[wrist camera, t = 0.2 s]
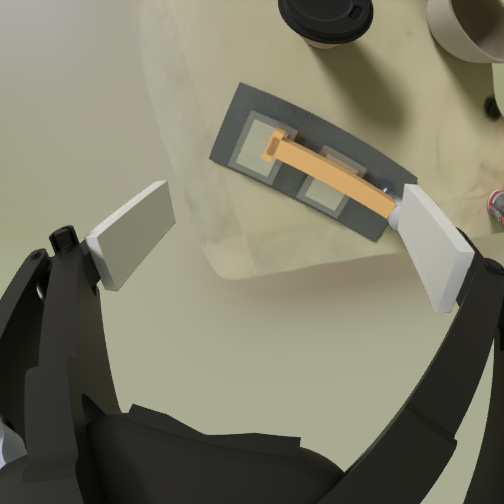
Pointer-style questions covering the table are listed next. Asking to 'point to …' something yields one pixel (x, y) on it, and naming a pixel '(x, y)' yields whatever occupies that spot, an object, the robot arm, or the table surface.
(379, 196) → the swing arm
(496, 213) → the pill bottle
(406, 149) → the table surface
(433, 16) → the planter
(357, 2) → the coffee cup
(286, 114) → the grey switch panel
